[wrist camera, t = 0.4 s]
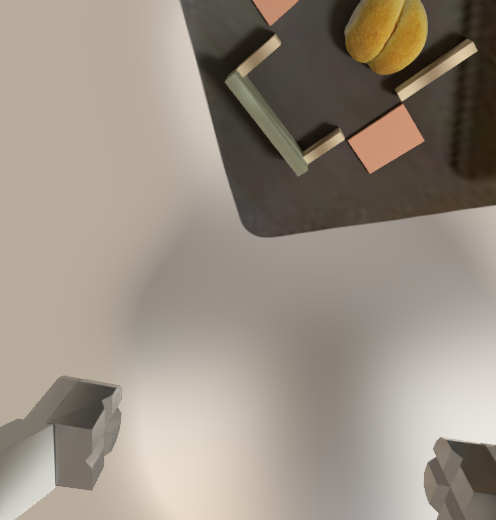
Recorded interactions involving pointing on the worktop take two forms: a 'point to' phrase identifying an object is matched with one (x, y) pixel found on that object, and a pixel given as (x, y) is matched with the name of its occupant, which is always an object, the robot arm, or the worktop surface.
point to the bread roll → (386, 33)
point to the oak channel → (302, 158)
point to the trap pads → (378, 133)
